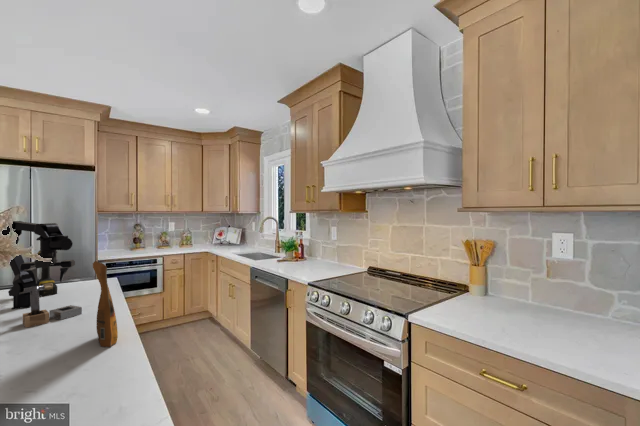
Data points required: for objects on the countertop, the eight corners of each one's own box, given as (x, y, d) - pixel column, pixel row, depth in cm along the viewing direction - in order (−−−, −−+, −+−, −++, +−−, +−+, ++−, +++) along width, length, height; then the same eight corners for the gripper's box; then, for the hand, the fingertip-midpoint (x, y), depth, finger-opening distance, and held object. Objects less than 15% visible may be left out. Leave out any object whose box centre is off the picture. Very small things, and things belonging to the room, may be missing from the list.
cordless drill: (42, 299, 155) (42, 251, 155) (33, 293, 168) (33, 248, 168) (62, 296, 162) (62, 250, 162) (52, 290, 175) (52, 247, 175)
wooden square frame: (22, 323, 123) (22, 313, 123) (45, 318, 128) (45, 309, 128) (25, 327, 118) (25, 317, 118) (49, 322, 124) (49, 312, 124)
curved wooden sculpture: (94, 352, 97) (94, 266, 97) (92, 333, 112) (92, 259, 112) (119, 346, 102) (119, 264, 101) (114, 329, 116) (114, 257, 116)
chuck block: (49, 317, 130) (49, 310, 130) (70, 311, 137) (70, 305, 137) (60, 319, 127) (60, 312, 127) (81, 313, 134) (81, 307, 134)
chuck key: (26, 326, 120) (24, 288, 119) (25, 324, 122) (23, 287, 121) (46, 321, 125) (44, 285, 124) (45, 319, 126) (43, 284, 126)
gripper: (13, 253, 131) (13, 289, 131) (67, 250, 138) (67, 284, 138) (25, 250, 141) (25, 283, 141) (75, 248, 148) (75, 279, 148)
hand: (48, 282), depth 142 cm, fingers open, 9 cm apart
